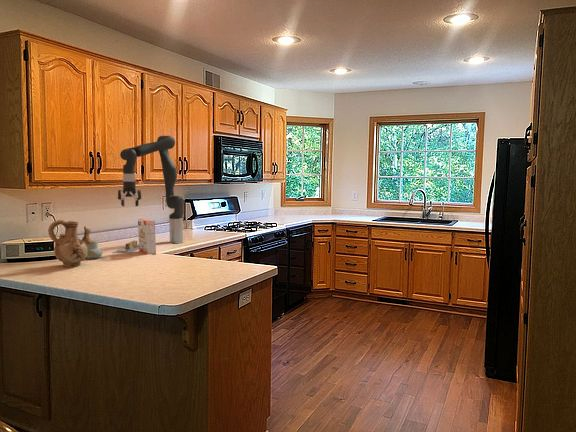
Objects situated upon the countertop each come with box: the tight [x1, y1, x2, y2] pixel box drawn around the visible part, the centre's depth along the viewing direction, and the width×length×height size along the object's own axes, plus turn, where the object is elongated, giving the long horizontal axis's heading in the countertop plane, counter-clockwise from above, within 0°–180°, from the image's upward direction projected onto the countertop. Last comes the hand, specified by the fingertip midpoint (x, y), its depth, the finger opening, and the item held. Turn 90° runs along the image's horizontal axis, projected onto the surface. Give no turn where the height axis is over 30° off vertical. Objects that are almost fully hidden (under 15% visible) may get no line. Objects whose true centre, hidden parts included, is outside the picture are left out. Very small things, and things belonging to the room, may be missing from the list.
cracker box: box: [137, 218, 157, 255], centre depth 290 cm, size 14×6×21 cm, turn 37°
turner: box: [118, 240, 138, 252], centre depth 301 cm, size 22×6×4 cm, turn 178°
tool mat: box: [111, 245, 139, 254], centre depth 301 cm, size 28×12×1 cm, turn 178°
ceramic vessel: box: [47, 219, 95, 268], centre depth 251 cm, size 18×19×25 cm
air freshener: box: [85, 240, 104, 260], centre depth 274 cm, size 11×8×10 cm
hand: (129, 206), depth 300 cm, fingers open, 8 cm apart
